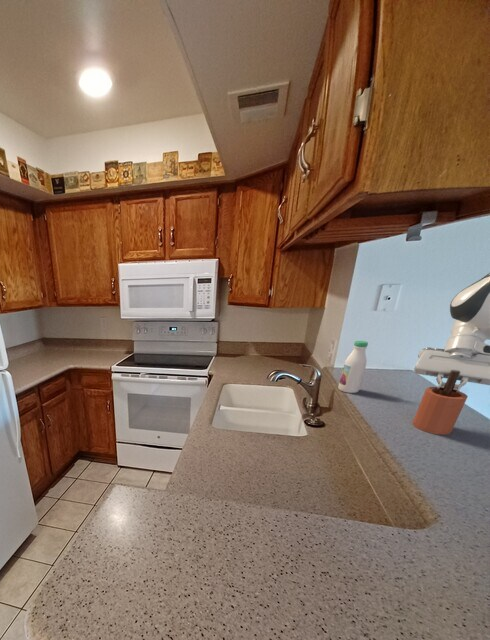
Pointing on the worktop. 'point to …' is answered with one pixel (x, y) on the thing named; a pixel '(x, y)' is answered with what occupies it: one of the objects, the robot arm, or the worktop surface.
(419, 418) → the jar
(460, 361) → the robot arm
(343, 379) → the milk bottle
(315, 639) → the worktop surface
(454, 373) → the brush
